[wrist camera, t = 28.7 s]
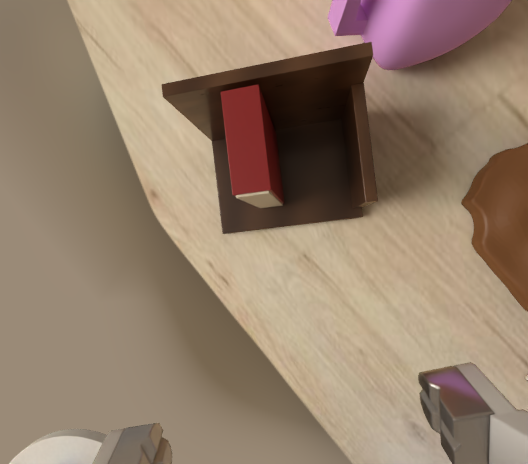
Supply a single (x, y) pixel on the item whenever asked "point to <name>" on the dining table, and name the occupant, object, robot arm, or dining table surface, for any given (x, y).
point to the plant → (503, 218)
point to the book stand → (295, 135)
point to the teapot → (412, 26)
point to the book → (252, 148)
